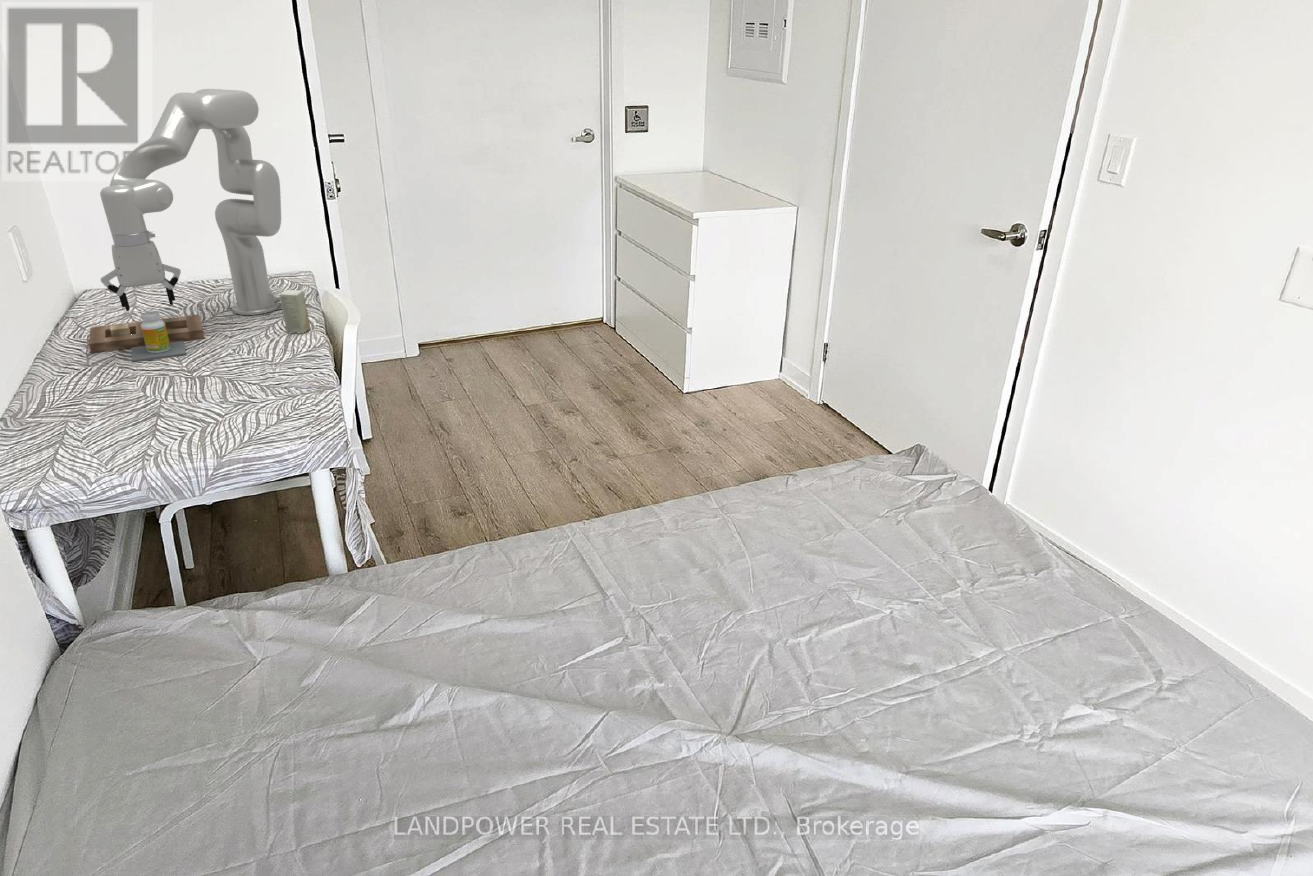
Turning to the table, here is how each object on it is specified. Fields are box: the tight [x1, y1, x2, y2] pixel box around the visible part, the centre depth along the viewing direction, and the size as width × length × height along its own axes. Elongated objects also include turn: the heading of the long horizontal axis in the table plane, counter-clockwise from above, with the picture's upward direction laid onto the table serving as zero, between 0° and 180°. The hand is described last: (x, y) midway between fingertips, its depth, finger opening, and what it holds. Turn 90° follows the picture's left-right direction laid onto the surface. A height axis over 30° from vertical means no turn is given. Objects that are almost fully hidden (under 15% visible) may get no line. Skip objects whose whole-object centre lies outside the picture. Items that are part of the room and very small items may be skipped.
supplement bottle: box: [140, 310, 171, 353], centre depth 216 cm, size 5×5×10 cm
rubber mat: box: [131, 341, 187, 363], centre depth 218 cm, size 12×10×1 cm
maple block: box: [110, 323, 131, 337], centre depth 224 cm, size 4×4×4 cm
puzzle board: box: [88, 314, 206, 354], centre depth 227 cm, size 26×14×2 cm, turn 119°
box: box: [279, 289, 311, 334], centre depth 233 cm, size 5×4×11 cm
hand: (150, 306), depth 214 cm, fingers open, 9 cm apart
